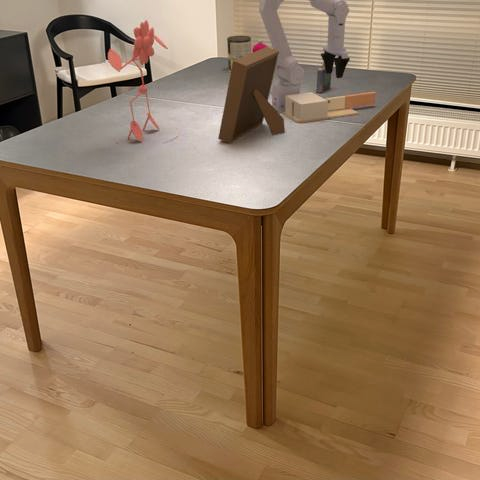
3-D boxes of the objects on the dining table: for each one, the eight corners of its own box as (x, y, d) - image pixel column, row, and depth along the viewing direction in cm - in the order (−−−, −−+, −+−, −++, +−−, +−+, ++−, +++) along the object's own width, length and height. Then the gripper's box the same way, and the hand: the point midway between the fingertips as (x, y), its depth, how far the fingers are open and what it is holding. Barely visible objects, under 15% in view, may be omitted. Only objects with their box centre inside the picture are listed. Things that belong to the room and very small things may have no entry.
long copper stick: (324, 111, 211) (325, 99, 210) (322, 110, 212) (323, 98, 211) (374, 103, 218) (375, 92, 216) (372, 103, 219) (373, 91, 217)
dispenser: (297, 123, 204) (298, 104, 201) (282, 113, 213) (282, 95, 210) (358, 114, 211) (359, 96, 208) (341, 105, 220) (341, 88, 218)
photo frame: (218, 141, 189) (215, 58, 177) (251, 122, 206) (250, 45, 194) (261, 149, 183) (262, 63, 171) (291, 128, 199) (294, 49, 187)
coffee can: (223, 70, 272) (222, 37, 266) (241, 67, 278) (240, 34, 272) (238, 74, 265) (237, 40, 259) (256, 70, 271) (255, 37, 265)
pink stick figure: (110, 147, 187) (97, 26, 170) (153, 122, 208) (146, 13, 191) (154, 154, 182) (145, 30, 165) (194, 128, 203) (189, 16, 186)
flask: (321, 93, 235) (322, 65, 230) (314, 92, 236) (315, 64, 231) (331, 88, 242) (333, 60, 237) (325, 87, 243) (326, 59, 238)
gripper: (356, 38, 210) (354, 78, 216) (335, 31, 222) (334, 70, 228) (338, 40, 208) (336, 80, 214) (318, 33, 220) (317, 72, 226)
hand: (334, 75), depth 221 cm, fingers open, 7 cm apart
